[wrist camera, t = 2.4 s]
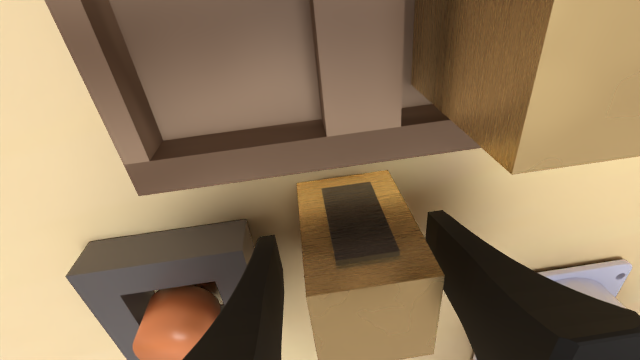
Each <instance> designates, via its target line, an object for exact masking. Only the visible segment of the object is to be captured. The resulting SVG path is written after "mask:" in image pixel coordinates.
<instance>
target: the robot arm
mask: <svg viewBox="0 0 640 360" xmlns="http://www.w3.org/2000/svg"><path fill="white" fill-rule="evenodd" d="M425 240H426V242H427V244H428V246H429V247H430V249H431V251H432V253H433V255H434V257H435V259H436V260H437V262H438V264H439V266H440V268H441V270H442V272H443V273H444V275H445V278H444V285H443V290H444V292H445V293H446V295H447V297H448V299H449V301H450V302H451V304H452V306H453V308H454V310H455V312H456V313H457V315H458V317H459V319H460V321H461V323H462V325H463V327H464V330H465V332H466V334H467V337H468V339H469V341H470V344H471V346H472V349H473V351H474V356H473V360H640V316H639V315H638V314H637V313H636V312H635V311H632V310H629V309H626V308H625V307H624V306H623V305H622V304H621V303H620V302H619V301H618V300H617V299H616V298H615V297H616V295H617V294H618V292H619V290H620V288H621V287H622V285H623V283H624V281H625V280H626V278H627V276H628V274H629V273H630V271H631V269H632V265H631V264H630V263H629V262H628V261H627V260H615V261H609V262H602V263H596V264H589V265H583V266H576V267H570V268H563V269H557V270H550V271H544V272H538V273H537V272H535V271H533V270H531V269H529V268H527V267H525V266H524V265H522V264H520V263H518V262H516V261H515V260H513V259H511V258H510V257H508V256H506V255H505V254H503V253H502V252H500V251H498V250H497V249H495V248H494V247H492V246H491V245H489V244H488V243H486V242H485V241H483V240H482V239H480V238H479V237H478V236H476V235H475V234H473V233H472V232H471V231H469V230H468V229H467V228H465V227H464V226H463V225H461V224H460V223H459V222H457V221H456V220H455V219H453V218H452V217H451V216H450V215H448V214H447V213H446V212H444V211H443V210H440V211H433V212H428V217H427V228H426V239H425ZM283 305H284V281H283V269H282V264H281V260H280V256H279V251H278V247H277V243H276V238H275V235H270V236H263V237H259V239H258V240H257V243H256V246H255V248H254V251H253V253H252V256H251V258H250V260H249V262H248V264H247V266H246V269H245V271H244V273H243V275H242V277H241V279H240V280H239V282H238V284H237V286H236V288H235V289H234V291H233V293H232V295H231V296H230V298H229V300H228V301H227V303H226V304H225V306H224V307H223V309H222V310H221V312H220V313H219V315H218V316H217V318H216V319H215V320H214V322H213V323H212V324H211V326H210V327H209V328H208V330H207V331H206V332H205V334H204V335H203V336H202V337H201V339H200V340H199V341H198V342H197V343H196V345H195V346H194V347H193V348H192V349H191V350H190V351H189V352H188V354H187V355H186V356H185V357H184V358H183V359H182V360H281V341H282V323H283Z"/></svg>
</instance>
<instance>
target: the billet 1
mask: <svg viewBox="0 0 640 360" xmlns="http://www.w3.org/2000/svg"><path fill="white" fill-rule="evenodd" d="M297 194H298V206H299V217H300V229H301V241H302V253H303V265H304V277H305V288H306V298H307V304H308V309H309V314H310V320H311V325H312V330H313V336H314V341H315V346H316V351H317V357H318V360H399V359H406V358H412V357H418V356H424V355H430V354H434V348H435V341H436V334H437V327H438V320H439V313H440V306H441V299H442V292H443V285H444V278H445V275H444V273H443V272H442V270H441V268H440V266H439V264H438V262H437V260H436V259H435V257H434V255H433V253H432V251H431V249H430V247H429V246H428V244H427V242H426V240H425V238H424V236H423V234H422V233H421V231H420V229H419V227H418V225H417V223H416V221H415V220H414V218H413V216H412V214H411V212H410V210H409V209H408V207H407V205H406V203H405V201H404V199H403V197H402V196H401V194H400V192H399V190H398V188H397V186H396V184H395V183H394V181H393V179H392V177H391V175H390V173H389V171H388V170H385V171H378V172H371V173H364V174H357V175H350V176H343V177H336V178H329V179H322V180H315V181H308V182H301V183H297Z"/></svg>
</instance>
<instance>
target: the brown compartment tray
mask: <svg viewBox="0 0 640 360" xmlns="http://www.w3.org/2000/svg"><path fill="white" fill-rule="evenodd" d="M45 2H46V4H47V6H48V8H49V10H50V12H51V14H52V17H53V19H54V21H55V23H56V25H57V27H58V29H59V31H60V33H61V35H62V37H63V39H64V41H65V44H66V46H67V48H68V50H69V52H70V54H71V56H72V58H73V60H74V62H75V64H76V66H77V69H78V71H79V73H80V75H81V77H82V79H83V81H84V83H85V85H86V87H87V89H88V91H89V93H90V96H91V98H92V100H93V102H94V104H95V106H96V108H97V110H98V112H99V114H100V116H101V118H102V121H103V123H104V125H105V127H106V129H107V131H108V133H109V135H110V137H111V139H112V141H113V143H114V146H115V148H116V150H117V152H118V154H119V156H120V158H121V160H122V162H123V164H124V166H125V168H126V170H127V173H128V175H129V177H130V179H131V181H132V183H133V185H134V187H135V189H136V191H137V193H138V195H139V196H142V195H150V194H157V193H164V192H171V191H178V190H185V189H192V188H199V187H206V186H213V185H220V184H228V183H235V182H242V181H249V180H256V179H263V178H270V177H277V176H284V175H291V174H298V173H306V172H313V171H320V170H327V169H334V168H341V167H348V166H355V165H362V164H369V163H376V162H384V161H391V160H398V159H405V158H412V157H419V156H426V155H433V154H440V153H447V152H454V151H462V150H469V149H476V148H481V147H480V146H479V145H478V144H477V143H476V142H475V141H474V140H473V139H471V138H470V137H469V136H468V135H467V134H466V133H465V132H464V131H462V130H461V129H460V128H459V127H458V126H457V125H456V124H455V123H453V122H452V121H451V120H450V119H449V118H448V117H447V116H446V115H444V114H443V113H442V112H441V111H440V110H439V109H438V108H437V107H435V106H434V105H433V104H432V103H431V102H430V101H429V100H428V99H426V98H425V97H424V96H423V95H422V94H421V93H420V92H419V91H417V90H416V89H415V88H414V87H413V86H412V85H411V77H412V54H413V32H414V10H415V0H45Z"/></svg>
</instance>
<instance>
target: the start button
mask: <svg viewBox="0 0 640 360" xmlns="http://www.w3.org/2000/svg"><path fill="white" fill-rule="evenodd" d="M220 311H221V306H220V303H219V301H218V299H217V298H216V297H215V296H214V295H213V294H212V293H210V292H209V291H207V290H205V289H203V288H200V287H196V286H191V285H187V286H180V287H173V288H167V289H160V290H159V291H157V292H156V293H154V294H153V296H152V297H151V298H150V300H149V303H148V306H147V308H146V311H145V313H144V316H143V319H142V321H141V324H140V326H139V329H138V331H137V334H136V337H135V339H134V342H133V351H134V353H135V355H136V356H137V357H138V358H139V359H140V360H182V359H183V358H184V357H185V356H186V355H187V354H188V352H189V351H190V350H191V349H192V348H193V347H194V346H195V345H196V343H197V342H198V341H199V340H200V339H201V337H202V336H203V335H204V334H205V332H206V331H207V330H208V328H209V327H210V326H211V324H212V323H213V322H214V320H215V319H216V318H217V316H218V315H219V313H220Z"/></svg>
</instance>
